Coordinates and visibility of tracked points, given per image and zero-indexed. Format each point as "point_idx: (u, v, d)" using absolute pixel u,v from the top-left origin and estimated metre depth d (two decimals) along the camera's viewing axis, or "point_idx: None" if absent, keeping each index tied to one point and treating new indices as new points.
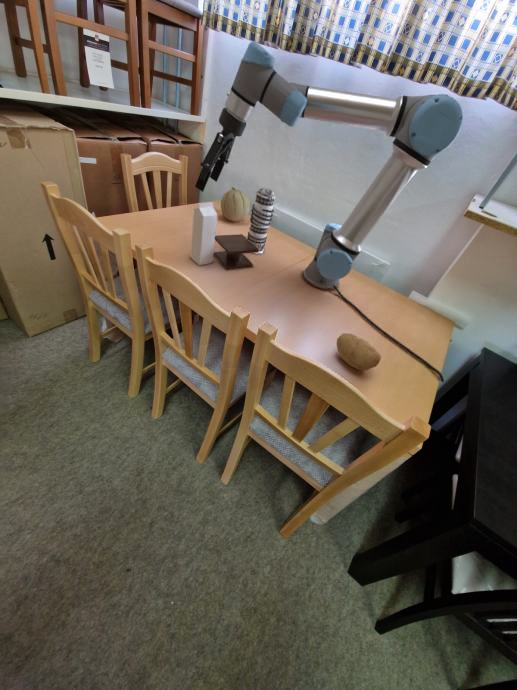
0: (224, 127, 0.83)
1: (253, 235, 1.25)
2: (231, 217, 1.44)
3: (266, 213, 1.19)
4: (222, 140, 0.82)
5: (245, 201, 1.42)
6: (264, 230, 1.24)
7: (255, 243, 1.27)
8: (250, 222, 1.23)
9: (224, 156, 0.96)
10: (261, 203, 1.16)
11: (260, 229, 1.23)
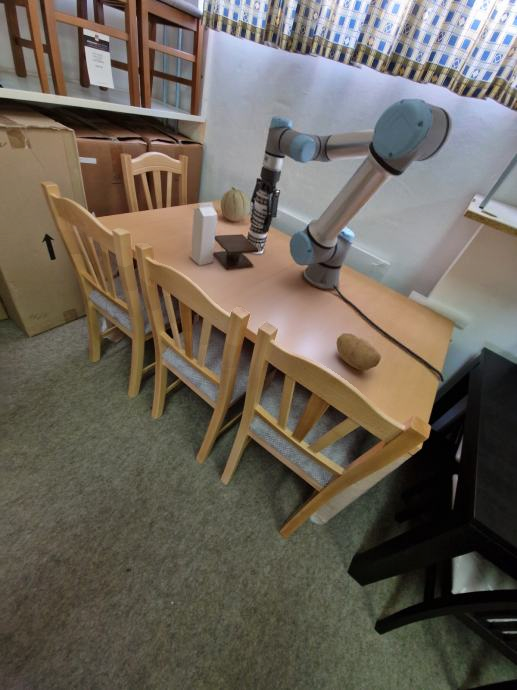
0: (273, 181, 1.10)
1: (253, 235, 1.25)
2: (231, 217, 1.44)
3: (266, 213, 1.19)
4: (279, 193, 1.12)
5: (245, 201, 1.42)
6: None
7: (255, 243, 1.27)
8: (250, 222, 1.23)
9: None
10: (261, 203, 1.16)
11: (260, 229, 1.23)
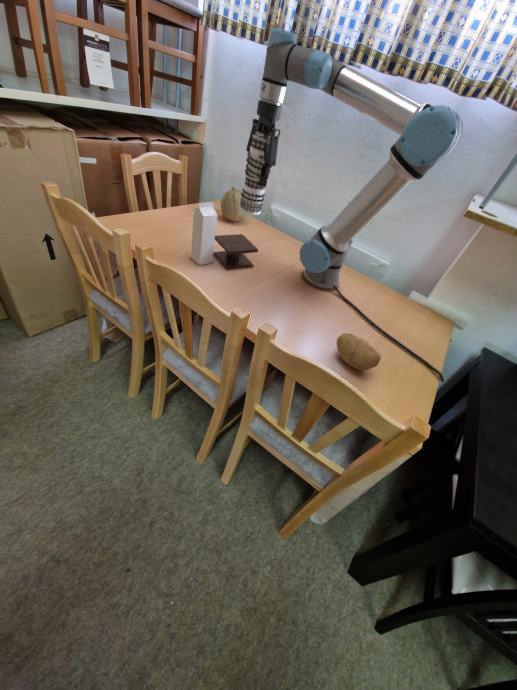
0: (272, 118, 0.91)
1: (248, 191, 1.05)
2: (231, 217, 1.44)
3: None
4: (278, 134, 0.92)
5: None
6: None
7: (250, 201, 1.07)
8: (245, 174, 1.04)
9: None
10: (257, 148, 0.96)
11: (256, 183, 1.03)
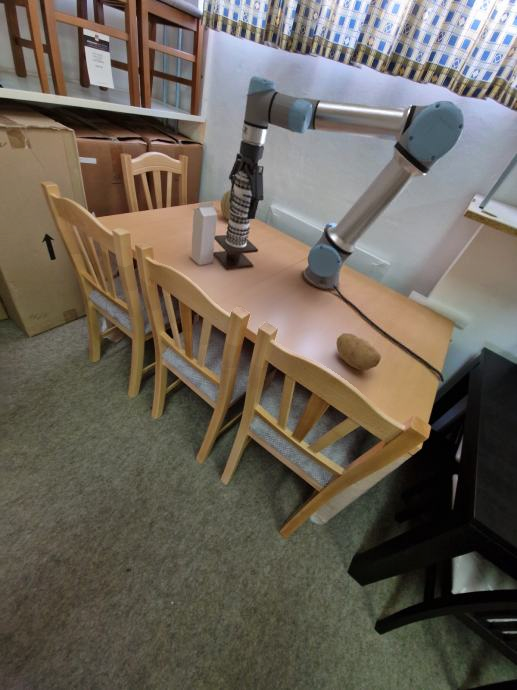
0: (254, 158, 0.93)
1: (233, 225, 1.08)
2: None
3: (247, 199, 1.02)
4: (262, 170, 0.94)
5: None
6: (246, 220, 1.07)
7: (236, 235, 1.10)
8: (230, 210, 1.06)
9: None
10: (241, 187, 0.99)
11: (241, 218, 1.06)
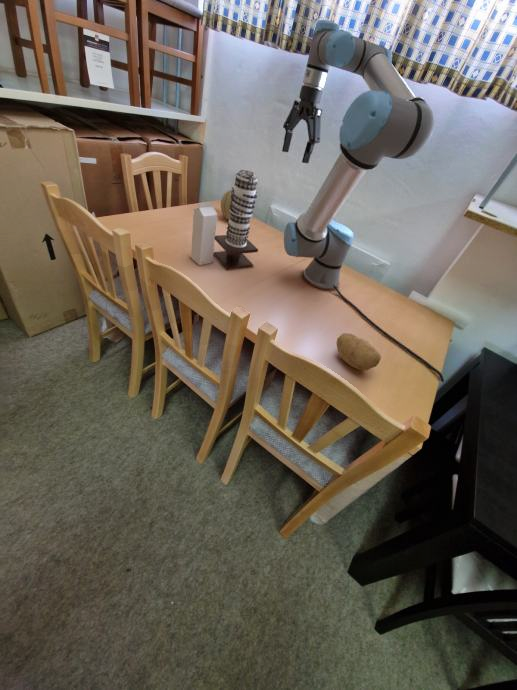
0: (314, 102, 1.01)
1: (233, 225, 1.08)
2: None
3: (247, 199, 1.02)
4: (321, 112, 1.02)
5: None
6: (246, 220, 1.07)
7: (236, 235, 1.10)
8: (230, 210, 1.06)
9: (293, 126, 1.13)
10: (241, 187, 0.99)
11: (241, 218, 1.06)
